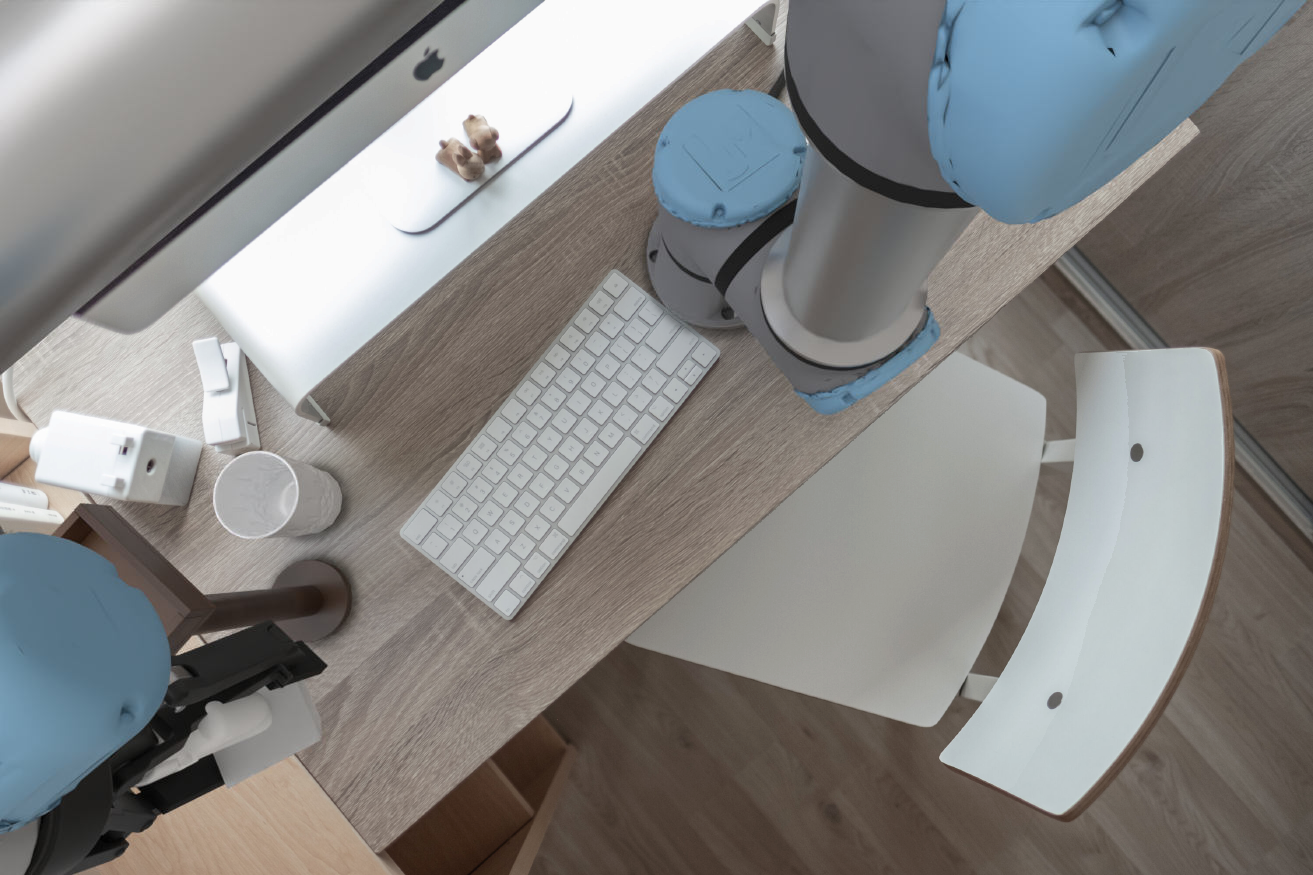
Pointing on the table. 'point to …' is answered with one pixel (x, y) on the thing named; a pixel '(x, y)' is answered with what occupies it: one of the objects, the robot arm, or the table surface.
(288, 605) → the walnut post
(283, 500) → the white cup
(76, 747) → the robot arm
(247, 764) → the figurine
